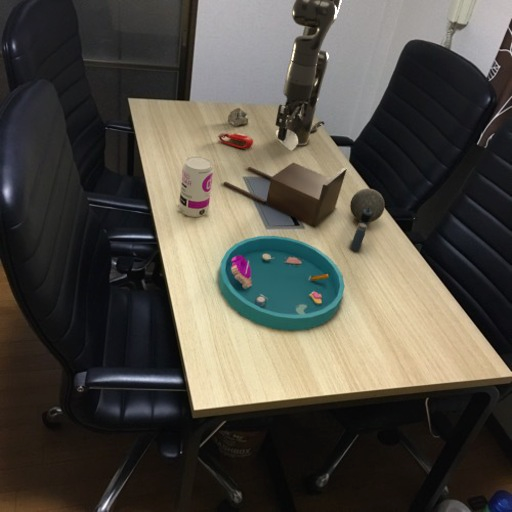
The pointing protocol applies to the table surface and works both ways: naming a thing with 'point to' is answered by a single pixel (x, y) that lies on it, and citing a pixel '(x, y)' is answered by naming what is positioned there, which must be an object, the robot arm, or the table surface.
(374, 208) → the decorative ball
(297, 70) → the robot arm
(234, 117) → the grey brown rock
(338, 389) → the table surface
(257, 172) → the box with long handles
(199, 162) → the supplement can
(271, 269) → the round teal tray
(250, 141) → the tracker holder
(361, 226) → the vaping device
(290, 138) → the pincushion
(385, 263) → the table surface
